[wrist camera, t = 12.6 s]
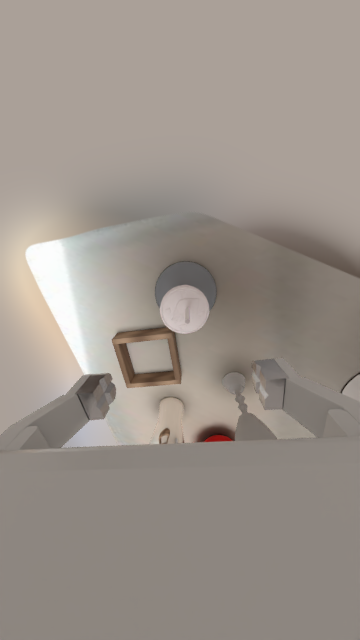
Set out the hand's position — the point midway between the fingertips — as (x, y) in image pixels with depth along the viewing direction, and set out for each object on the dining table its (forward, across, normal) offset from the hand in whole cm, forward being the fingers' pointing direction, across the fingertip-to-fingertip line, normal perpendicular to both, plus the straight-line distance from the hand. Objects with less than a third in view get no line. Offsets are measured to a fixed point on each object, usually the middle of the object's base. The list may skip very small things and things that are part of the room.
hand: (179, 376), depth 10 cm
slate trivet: (+23, 0, 0) cm, 23 cm away
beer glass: (+23, +7, +27) cm, 36 cm away
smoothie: (+22, 0, 0) cm, 22 cm away
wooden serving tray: (+23, +9, +12) cm, 27 cm away
